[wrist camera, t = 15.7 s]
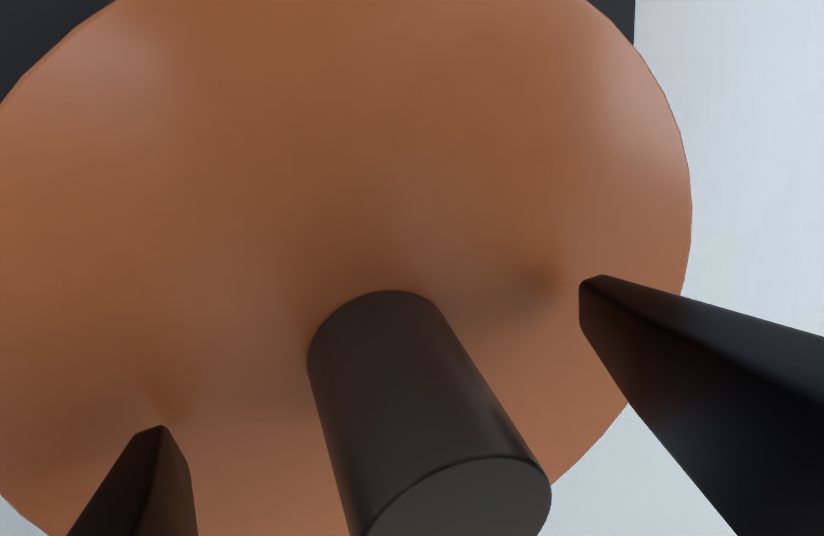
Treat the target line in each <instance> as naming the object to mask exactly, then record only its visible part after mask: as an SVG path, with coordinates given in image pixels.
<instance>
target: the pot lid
mask: <svg viewBox="0 0 824 536" xmlns="http://www.w3.org/2000/svg"><path fill="white" fill-rule="evenodd" d="M691 223H692V200H691V188H690V177H689V168H688V164H687V160H686V156H685V151H684V147H683V143H682V139H681V134H680V131H679V128H678V126H677V123H676V121H675V118H674V116H673V114H672V111H671V109H670V106H669V104H668V101H667V99H666V96H665V94H664V92H663V90H662V89H661V87H660V86H659V84H658V82H657V81H656V79H655V77H654V76H653V74H652V72H651V71H650V69H649V68H648V66H647V64H646V63H645V61H644V59H643V58H642V56H641V55H640V53H639V52H638V51H637V50H636V49H635V48H634V47H633V45H632V44H631V43H630V42H629V41H628V40H627V38H626V37H625V36H624V35H623V34H622V33H621V32H620V30H619V29H618V28H617V27H616V26H615V25H614V23H613V22H612V21H611V20H610V19H609V18H607V17H606V16H605V15H604V14H603V13H601V12H600V11H599V10H598V9H597V8H595V7H594V6H593V5H592V4H590V3H589V2H588V1H587V0H114V1H112V2H111V3H109V4H108V5H106V6H105V7H103V8H102V9H100V10H99V11H97V12H96V13H94V14H93V15H91V16H90V17H88V18H87V19H85V20H84V21H82V22H81V23H79V24H78V25H77V26H76V27H74V28H73V29H72V30H71V31H70V32H69V33H68V34H67V35H66V36H65V37H64V38H62V39H61V40H60V41H59V42H58V43H57V44H56V45H55V46H54V47H53V48H52V49H50V50H49V51H48V52H47V53H46V54H45V55H44V56H43V57H42V58H41V59H39V60H38V61H37V62H36V63H35V64H34V65H33V66H32V67H31V68H30V69H29V70H27V71H26V72H25V73H24V74H23V75H22V76H21V77H20V79H19V80H18V81H17V83H16V84H15V85H14V86H13V88H12V89H11V90H10V91H9V93H8V94H7V95H6V97H5V98H4V99H3V100H2V102H1V103H0V495H1V496H2V497H3V498H4V499H5V500H6V501H7V502H8V503H9V504H10V505H11V506H12V507H13V508H14V509H15V510H16V511H17V512H18V513H19V514H20V515H21V516H23V517H24V518H26V519H27V520H28V521H30V522H31V523H33V524H34V525H35V526H37V527H38V528H39V529H41V530H42V531H44V532H45V533H46V534H48V535H49V536H66V535H67V533H68V532H69V530H70V529H71V527H72V526H73V524H74V523H75V521H76V520H77V518H78V517H79V515H80V514H81V513H82V511H83V510H84V508H85V507H86V505H87V504H88V502H89V501H90V499H91V498H92V496H93V495H94V493H95V492H96V490H97V489H98V487H99V486H100V484H101V483H102V481H103V480H104V478H105V477H106V475H107V474H108V472H109V471H110V469H111V468H112V466H113V465H114V463H115V462H116V460H117V459H118V457H119V456H120V454H121V453H122V451H123V450H124V448H125V447H126V446H127V444H128V443H129V441H130V440H131V438H132V437H133V436H134V435H135V434H136V433H138V432H140V431H143V430H146V429H149V428H152V427H155V426H158V425H163V426H166V427H167V428H168V429H169V431H170V432H171V434H172V436H173V438H174V440H175V441H176V443H177V445H178V447H179V448H180V450H181V452H182V454H183V455H184V457H185V459H186V461H187V464H188V467H189V470H190V475H191V482H192V490H193V497H194V505H195V513H196V521H197V529H198V536H537V535H538V533H539V532H540V530H541V529H542V527H543V525H544V523H545V521H546V519H547V516H548V514H549V511H550V506H551V497H552V493H551V485H552V484H553V483H554V482H555V481H556V480H558V479H559V478H560V477H561V476H562V475H563V474H564V473H565V472H566V471H568V470H569V469H570V468H571V467H572V466H573V465H574V464H575V463H576V462H578V461H579V460H580V459H581V457H582V456H583V455H584V454H585V453H586V452H587V451H588V450H589V449H590V448H591V447H592V446H593V445H594V444H595V443H596V442H597V441H598V440H599V438H600V437H601V436H602V435H603V434H604V433H605V432H606V430H607V429H608V428H609V427H610V425H611V424H612V423H613V422H614V420H615V419H616V418H617V417H618V415H619V414H620V413H621V412H622V410H623V409H624V408H625V406H626V405H627V403H628V401H627V400H626V398H625V397H624V395H623V394H622V392H621V391H620V389H619V388H618V386H617V385H616V383H615V382H614V380H613V379H612V377H611V375H610V374H609V372H608V371H607V369H606V368H605V366H604V365H603V363H602V362H601V360H600V359H599V357H598V356H597V354H596V352H595V351H594V349H593V348H592V346H591V345H590V343H589V342H588V340H587V339H586V337H585V336H584V334H583V332H582V330H581V327H580V324H579V299H578V290H579V285H580V283H581V282H582V281H583V280H585V279H588V278H591V277H594V276H597V275H600V274H605V275H609V276H613V277H616V278H620V279H623V280H627V281H630V282H634V283H637V284H641V285H644V286H648V287H651V288H655V289H658V290H662V291H665V292H669V293H672V294H676V295H679V296H680V293H681V290H682V287H683V283H684V279H685V274H686V268H687V262H688V256H689V251H690V244H691Z"/></svg>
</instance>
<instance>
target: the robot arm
mask: <svg viewBox="0 0 824 536" xmlns="http://www.w3.org/2000/svg"><path fill="white" fill-rule="evenodd" d="M578 299H579V324H580V327H581V330H582V332H583V334H584V336H585V337H586V339H587V340H588V342H589V343H590V345H591V346H592V348H593V349H594V351H595V352H596V354H597V356H598V357H599V359H600V360H601V362H602V363H603V365H604V366H605V368H606V369H607V371H608V372H609V374H610V375H611V377H612V379H613V380H614V382H615V383H616V385H617V386H618V388H619V389H620V391H621V392H622V394H623V395H624V397H625V398H626V400H627V401H628V402H629V404H630V405H631V406H632V408H633V409H634V410H635V412H636V413H637V414H638V415H639V417H640V418H641V419H642V420H643V421H644V423H645V424H646V425H647V426H648V428H649V429H650V430H651V431H652V432H653V434H654V435H655V436H656V437H657V438H658V440H659V441H660V442H661V443H662V445H663V446H664V447H665V448H666V449H667V451H668V452H669V453H670V454H671V455H672V457H673V458H674V459H675V460H676V462H677V463H678V464H679V465H680V466H681V468H682V469H683V470H684V471H685V472H686V474H687V475H688V476H689V477H690V479H691V480H692V481H693V482H694V483H695V485H696V486H697V487H698V488H699V490H700V491H701V492H702V493H703V494H704V496H705V497H706V498H707V499H708V500H709V502H710V503H711V504H712V505H713V507H714V508H715V509H716V510H717V511H718V513H719V514H720V515H721V516H722V517H723V519H724V520H725V521H726V522H727V524H728V525H729V526H730V527H731V528H732V530H733V531H734V532H735V533H736V534H737V536H824V337H822V336H819V335H815V334H812V333H808V332H805V331H801V330H798V329H794V328H791V327H787V326H784V325H780V324H777V323H773V322H770V321H766V320H763V319H760V318H756V317H753V316H749V315H746V314H742V313H739V312H735V311H732V310H728V309H725V308H721V307H718V306H714V305H711V304H707V303H704V302H700V301H697V300H693V299H690V298H686V297H683V296H679V295H676V294H672V293H669V292H665V291H662V290H658V289H655V288H651V287H648V286H644V285H641V284H637V283H634V282H630V281H627V280H623V279H620V278H616V277H613V276H609V275H605V274H600V275H597V276H594V277H591V278H588V279H585V280H583V281H582V282H581V283H580V285H579V290H578ZM66 536H198V529H197V521H196V513H195V505H194V497H193V490H192V482H191V475H190V470H189V467H188V464H187V461H186V459H185V457H184V455H183V454H182V452H181V450H180V448H179V447H178V445H177V443H176V441H175V440H174V438H173V436H172V434H171V432H170V431H169V429H168V428H167V427H166V426H163V425H158V426H155V427H152V428H149V429H146V430H143V431H140V432H138V433H136V434H135V435H134V436H133V437H132V438H131V440H130V441H129V443H128V444H127V446H126V447H125V448H124V450H123V451H122V453H121V454H120V456H119V457H118V459H117V460H116V462H115V463H114V465H113V466H112V468H111V469H110V471H109V472H108V474H107V475H106V477H105V478H104V480H103V481H102V483H101V484H100V486H99V487H98V489H97V490H96V492H95V493H94V495H93V496H92V498H91V499H90V501H89V502H88V504H87V505H86V507H85V508H84V510H83V511H82V513H81V514H80V515H79V517H78V518H77V520H76V521H75V523H74V524H73V526H72V527H71V529H70V530H69V532H68V533H67V535H66Z"/></svg>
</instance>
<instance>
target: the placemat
mask: <svg viewBox="0 0 824 536" xmlns="http://www.w3.org/2000/svg"><path fill="white" fill-rule="evenodd" d="M112 1H114V0H0V103H1V102H2V100H3V99H4V98H5V97H6V95H7V94H8V93H9V91H10V90H11V89H12V88H13V86H14V85H15V84H16V83H17V81H18V80H19V79H20V77H21V76H22V75H23V74H24V73H25V72H26V71H27V70H29V69H30V68H31V67H32V66H33V65H34V64H35V63H36V62H37V61H38V60H39V59H41V58H42V57H43V56H44V55H45V54H46V53H47V52H48V51H49V50H50V49H52V48H53V47H54V46H55V45H56V44H57V43H58V42H59V41H60V40H61V39H62V38H64V37H65V36H66V35H67V34H68V33H69V32H70V31H71V30H72V29H73V28H74V27H76V26H77V25H78V24H79V23H81V22H82V21H84V20H85V19H87V18H88V17H90V16H91V15H93V14H94V13H96V12H97V11H99V10H100V9H102V8H103V7H105V6H106V5H108V4H109V3H111V2H112ZM587 1H588V2H589V3H590V4H592V5H593V6H594V7H595V8H597V9H598V10H599V11H600V12H601V13H603V14H604V15H605V16H606V17H607V18H609V19H610V20H611V21H612V22H613V23H614V25H615V26H616V27H617V28H618V29H619V30H620V32H621V33H622V34H623V35H624V36H625V37H626V38H627V40H628V41H629V42H630V43H631V44H632V45H633V44H634V20H635V0H587Z"/></svg>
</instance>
